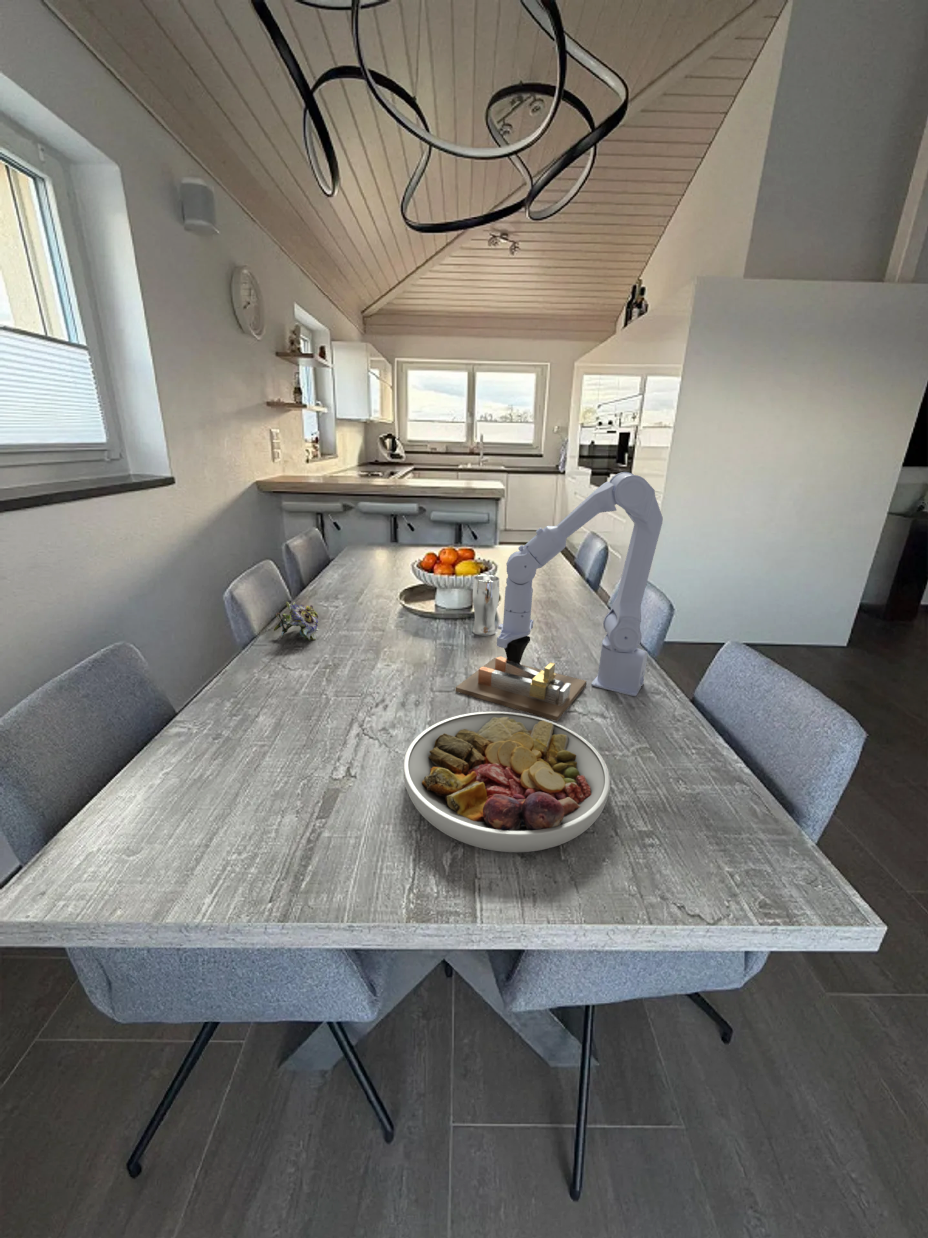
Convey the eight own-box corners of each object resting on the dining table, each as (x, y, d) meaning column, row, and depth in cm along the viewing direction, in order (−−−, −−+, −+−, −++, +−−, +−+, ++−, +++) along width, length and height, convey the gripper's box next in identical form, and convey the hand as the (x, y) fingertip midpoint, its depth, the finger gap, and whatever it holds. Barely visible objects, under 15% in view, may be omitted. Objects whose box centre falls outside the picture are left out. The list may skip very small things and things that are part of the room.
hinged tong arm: (564, 696, 106) (566, 682, 105) (557, 700, 104) (558, 686, 103) (501, 668, 117) (501, 655, 116) (493, 671, 115) (494, 658, 114)
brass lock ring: (554, 688, 107) (556, 661, 105) (543, 699, 102) (546, 672, 100) (540, 684, 108) (542, 658, 106) (529, 695, 103) (531, 668, 101)
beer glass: (487, 638, 137) (490, 583, 132) (465, 632, 141) (467, 578, 136) (502, 631, 142) (505, 577, 137) (481, 625, 146) (483, 573, 141)
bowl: (384, 752, 88) (383, 710, 85) (543, 724, 98) (547, 686, 95) (439, 893, 61) (440, 839, 59) (650, 835, 71) (659, 787, 69)
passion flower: (313, 659, 134) (316, 633, 125) (268, 653, 132) (268, 626, 123) (320, 623, 141) (323, 596, 132) (277, 617, 139) (277, 588, 129)
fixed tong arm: (569, 698, 105) (570, 683, 104) (562, 706, 102) (563, 691, 101) (487, 675, 114) (488, 662, 113) (478, 683, 110) (478, 669, 109)
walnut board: (586, 685, 113) (586, 680, 113) (557, 721, 98) (557, 716, 98) (494, 661, 123) (494, 657, 123) (455, 691, 108) (455, 687, 108)
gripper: (514, 597, 119) (510, 652, 123) (484, 614, 107) (481, 675, 111) (544, 603, 116) (538, 659, 120) (516, 621, 104) (512, 683, 108)
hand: (513, 667), depth 116 cm, fingers closed
